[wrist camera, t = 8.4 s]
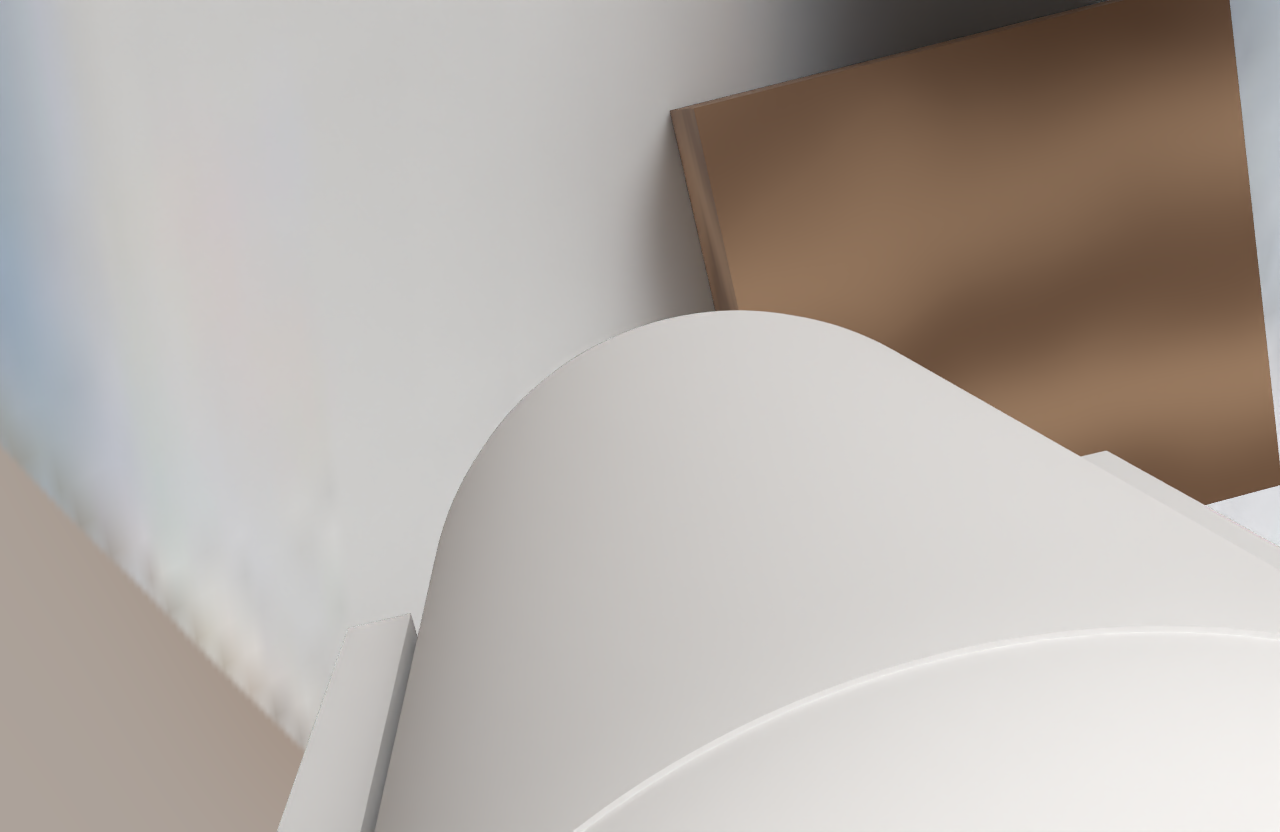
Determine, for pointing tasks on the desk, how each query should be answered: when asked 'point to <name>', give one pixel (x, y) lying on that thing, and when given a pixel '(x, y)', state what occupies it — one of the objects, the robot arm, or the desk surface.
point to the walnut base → (1020, 227)
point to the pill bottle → (822, 613)
